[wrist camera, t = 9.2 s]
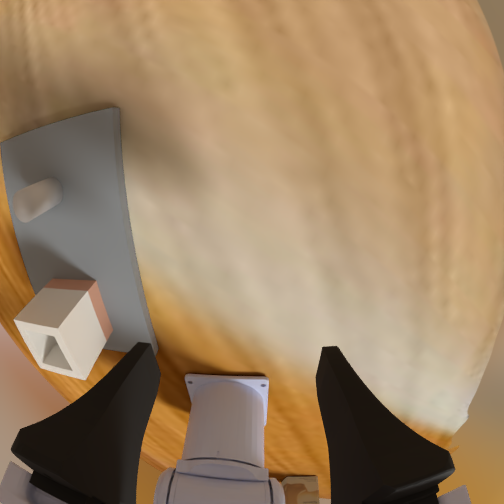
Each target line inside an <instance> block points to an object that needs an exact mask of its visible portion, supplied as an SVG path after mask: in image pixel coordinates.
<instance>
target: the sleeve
mask: <svg viewBox="0 0 504 504" xmlns="http://www.w3.org/2000/svg"><path fill="white" fill-rule="evenodd" d="M13 320H14V322H15V324H16V326H17V328H18V330H19V331H20V333H21V335H22V337H23V339H24V341H25V343H26V344H27V346H28V348H29V350H30V351H31V353H32V355H33V356H34V358H35V360H36V361H37V363H38V365H39V366H40V368H42V369H46V370H49V371H52V372H56V373H59V374H63V375H66V376H70V377H74V378H78V379H82V380H86V379H87V377H88V375H89V373H90V371H91V369H92V367H93V365H94V363H95V362H96V360H97V358H98V356H99V354H100V352H101V351H102V349H103V347H104V345H105V343H106V342H107V340H108V338H109V336H110V335H111V333H112V331H113V328H112V325H111V323H110V320H109V317H108V314H107V312H106V309H105V306H104V303H103V300H102V297H101V294H100V291H99V288H98V284H97V281H95V280H72V279H51V280H50V281H49V282H48V283H47V284H46V285H45V286H44V287H43V288H42V289H41V290H40V291H39V293H38V294H37V295H36V296H35V297H34V298H33V299H32V300H31V301H30V302H29V303H28V304H27V305H26V306H25V307H24V308H23V309H22V310H21V312H20V313H19V314H18V315H17V316H16V317H15V318H14V319H13Z"/></svg>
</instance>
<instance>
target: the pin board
mask: <svg viewBox="0 0 504 504" xmlns="http://www.w3.org/2000/svg"><path fill="white" fill-rule="evenodd" d="M0 146H1V157H2V166H3V174H4V181H5V187H6V193H7V198H8V203H9V208H10V213H11V218H12V222H13V226H14V230H15V234H16V238H17V241H18V245H19V248H20V252H21V255H22V258H23V261H24V264H25V267H26V270H27V273H28V276H29V279H30V282H31V285H32V287H33V290H34V292H35V295H37V294H38V293H39V291H40V290H41V289H42V288H43V287H44V286H45V285H46V284H47V283H48V282H49V281H50V280H51V279H72V280H95V281H97V284H98V288H99V291H100V294H101V297H102V300H103V303H104V306H105V309H106V312H107V314H108V317H109V320H110V323H111V325H112V328H113V331H112V333H111V335H110V336H109V338H108V340H107V342H106V343H105V345H104V347H103V349H107V350H114V351H121V352H129V351H130V350H131V349H132V348H133V347H134V346H135V345H136V344H137V343H138V342H145V343H151V345H152V348H153V351H154V355H155V356H156V354H157V351H158V349H159V348H158V344H157V341H156V337H155V334H154V330H153V327H152V323H151V319H150V315H149V311H148V307H147V303H146V299H145V295H144V291H143V286H142V282H141V277H140V273H139V268H138V263H137V258H136V253H135V247H134V242H133V236H132V230H131V224H130V218H129V211H128V204H127V196H126V188H125V180H124V170H123V160H122V147H121V132H120V109H119V108H114V107H112V108H108V109H103V110H99V111H95V112H91V113H87V114H83V115H79V116H75V117H72V118H68V119H65V120H61V121H58V122H55V123H52V124H49V125H46V126H43V127H40V128H37V129H34V130H31V131H29V132H26V133H23V134H21V135H18V136H16V137H13V138H11V139H8V140H6V141H3V142H1V143H0Z"/></svg>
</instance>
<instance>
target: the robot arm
mask: <svg viewBox="0 0 504 504" xmlns="http://www.w3.org/2000/svg"><path fill="white" fill-rule="evenodd" d="M160 376H161V373H160V370H159V367H158V364H157V361H156V358H155V355H154V351H153V348H152V345H151V343H145V342H138V343H137V344H136V345H135V346H134V347H133V348H132V349H131V350H130V351H129V352H128V353H127V354H126V355H125V356H124V357H123V358H122V359H121V360H120V361H119V362H118V363H117V364H116V365H115V366H114V367H113V369H112V370H111V371H110V372H109V373H108V374H107V375H106V376H105V377H103V378H102V379H101V380H100V381H99V382H98V383H97V384H96V385H95V386H94V387H93V388H91V389H90V390H89V391H88V392H87V393H85V394H84V395H83V396H81V397H80V398H79V399H78V400H76V401H75V402H73V403H72V404H70V405H69V406H67V407H66V408H64V409H62V410H61V411H59V412H58V413H56V414H54V415H52V416H50V417H48V418H46V419H44V420H42V421H40V422H37V423H35V424H32V425H30V426H27V427H24V428H22V429H20V431H19V433H18V435H17V437H16V439H15V441H14V443H13V445H12V447H11V451H12V453H13V454H14V455H15V456H16V457H17V458H19V459H20V460H21V461H22V462H24V463H25V464H26V465H28V466H29V467H30V468H31V469H33V470H34V471H33V474H30V473H29V472H28V471H26V470H24V469H23V468H21V467H20V466H18V465H16V464H15V463H13V462H12V461H11V462H10V463H9V465H8V468H7V470H6V472H5V475H4V477H3V480H2V482H1V485H0V502H1V503H2V504H136V485H137V473H138V465H139V458H140V452H141V446H142V441H143V437H144V433H145V430H146V427H147V423H148V420H149V417H150V414H151V411H152V408H153V405H154V402H155V399H156V396H157V392H158V387H159V382H160ZM185 382H186V385H187V389H188V392H189V396H190V399H191V403H192V406H191V412H190V417H189V422H188V427H187V433H186V438H185V443H184V449H183V454H182V460H177V465H176V468H172V467H169V468H168V469H167V470H165V471H163V472H162V473H161V475H160V476H159V479H158V482H157V485H156V490H155V496H154V503H153V504H285V494H284V490H283V487H282V485H281V484H280V483H279V482H278V481H277V479H276V478H269V473H268V469H267V468H264V426H265V425H266V418H267V403H268V387H269V379H268V378H267V377H264V376H220V375H202V374H186V375H185ZM316 387H317V397H318V402H319V407H320V411H321V416H322V420H323V425H324V429H325V434H326V438H327V444H328V451H329V462H330V478H331V504H471V501H470V498H469V494H468V491H467V488H466V485H462V486H461V487H458V488H456V489H454V490H452V491H450V492H448V493H446V494H444V495H442V496H440V497H438V498H437V495H436V493H437V492H438V491H439V488H438V484H439V483H440V482H442V481H443V480H445V479H446V478H447V477H449V476H450V475H451V474H452V473H453V472H454V471H455V467H454V464H453V461H452V458H451V456H450V453H449V451H447V450H445V449H443V448H441V447H439V446H437V445H435V444H433V443H431V442H430V441H428V440H426V439H425V438H423V437H422V436H420V435H419V434H417V433H416V432H414V431H413V430H412V429H410V428H409V427H408V426H406V425H405V424H404V423H402V422H401V421H400V420H399V419H398V418H397V417H395V416H394V415H393V414H392V413H391V412H390V411H389V410H388V409H387V408H386V407H385V406H384V405H383V404H382V403H381V402H380V401H379V400H378V399H377V398H376V397H375V396H374V394H373V393H372V392H371V391H370V390H369V389H368V388H367V386H366V385H365V384H364V383H363V381H362V380H361V379H360V377H359V376H358V375H357V374H356V372H355V371H354V370H353V368H352V367H351V365H350V364H349V363H348V361H347V360H346V358H345V357H344V355H343V354H342V352H341V351H340V349H339V348H338V347H337V346H329V347H322V352H321V356H320V361H319V365H318V370H317V374H316Z"/></svg>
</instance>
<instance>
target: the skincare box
mask: <svg viewBox="0 0 504 504" xmlns="http://www.w3.org/2000/svg"><path fill="white" fill-rule="evenodd" d="M281 485H282V487H283V490H284V494H285V504H319V490H318V477H317V476H308V477H286V478H285V479H284V480H283V481H282V482H281Z"/></svg>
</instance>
